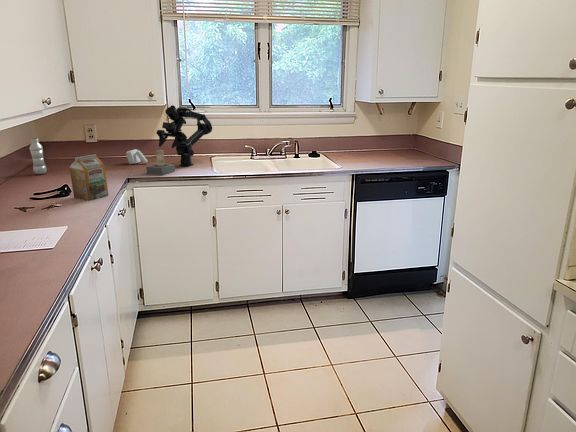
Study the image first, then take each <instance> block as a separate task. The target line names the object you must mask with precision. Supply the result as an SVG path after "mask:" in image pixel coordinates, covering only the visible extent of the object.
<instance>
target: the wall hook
mask: <svg viewBox="0 0 576 432" xmlns="http://www.w3.org/2000/svg"><path fill="white" fill-rule="evenodd" d="M125 154H126V157H127V160H128V164H129V165H135V164H137V163H141V162H142V163H143V165H146V164H147V163H149V160H148V159H147V158H146V157H145V155H144V154H143V153H142V151H140V150H139V149H135V148H134V149H132V150H131V149H130V150H128V151H126V153H125Z"/></svg>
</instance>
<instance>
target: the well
mask: <svg viewBox="0 0 576 432" xmlns="http://www.w3.org/2000/svg"><path fill="white" fill-rule="evenodd" d="M164 165H165V166H164V167H157V165H156V163H154V164H150V165H147V166H146V174H147V173H148V175H157V176H158V175H159V176H164V175H165V176H166V175H169V174H170V173H175V172H176V169H175V167H176V166H175V164H172V163H164Z"/></svg>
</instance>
